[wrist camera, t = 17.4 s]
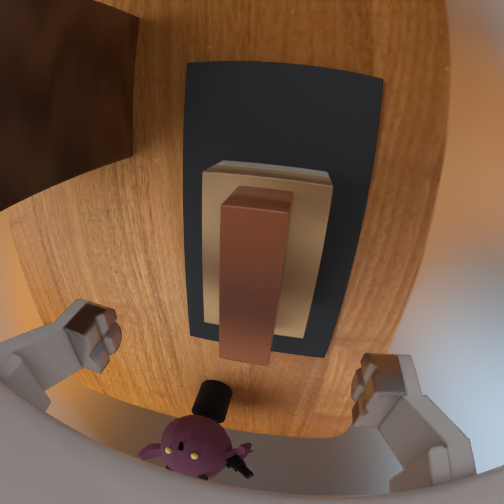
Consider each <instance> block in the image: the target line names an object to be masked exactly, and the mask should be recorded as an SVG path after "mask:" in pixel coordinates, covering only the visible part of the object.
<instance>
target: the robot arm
mask: <svg viewBox="0 0 504 504" xmlns="http://www.w3.org/2000/svg"><path fill="white" fill-rule="evenodd" d="M116 319H117V315H116V312H115V310H114V309H112V308H109V307H106V306H103V305H100V304H97V303H94V302H91V301H87V300H84V299H81V298H80V299H76V300H75V301H74V302H73V303H72V304H71V305H70V306H69V307H68V308H67V309H66V310H65V311H64V312H63V313H62V314H61V316H60V317H59V318H58V319H57V320H56V321H55V322H54V323H53V324H50V323H49V324H46V325H44V326H41V327H39V328H36V329H34V330H31V331H29V332H26V333H23V334H21V335H19V336H16V337H13V338H11V339H8V340H6V341H3V342H1V343H0V504H504V465H503V466H500V467H497V468H494V469H492V470H489V471H486V472H483V473H480V474H477V473H476V468H475V462H474V457H473V452H472V448H471V443H470V439H469V438H468V437H467V436H466V435H465V434H464V433H463V432H462V431H461V430H460V429H459V428H458V427H457V426H456V425H455V424H454V423H453V422H452V421H451V420H450V419H449V418H448V417H447V416H446V415H445V414H444V413H443V412H442V411H441V410H440V409H439V407H438V406H436V404H435V403H433V401H432V400H431V399H430V398H429V397H428V396H427V395H422V392H421V388H420V384H419V381H418V377H417V373H416V370H415V367H414V364H413V360H412V357H411V356H410V355H399V354H397V355H396V354H395V355H394V354H377V353H365V354H364V355H363V357H362V360H361V368H359V369H358V370H356V372H355V375H354V377H353V381H352V386H351V398H352V399H353V400H354V402H355V405H354V407H353V409H352V418H353V427H378V430H379V432H380V433H381V435H382V436H383V438H384V440H385V441H386V443H387V444H388V445H389V447H390V448H391V450H392V452H393V453H394V455H395V456H396V458H397V459H398V461H399V462H400V464H401V465H402V467H403V468H404V469H403V470H402V471H401V472H399V473H398V474H397V475H395V476H394V477H393V478H392V479H391V480H390V493H383V494H371V495H352V496H315V495H296V494H284V493H275V492H266V491H258V490H252V489H246V488H240V487H235V486H230V485H225V484H220V483H216V482H211V481H207V480H203V479H199V478H195V477H192V476H188V475H185V474H181V473H178V472H174V471H171V470H168V469H165V468H162V467H159V466H156V465H153V464H151V463H148V462H145V461H142V460H140V459H137V458H134V457H132V456H130V455H127V454H125V453H122V452H120V451H118V450H116V449H113V448H111V447H109V446H107V445H104V444H102V443H100V442H98V441H96V440H94V439H92V438H90V437H88V436H86V435H84V434H82V433H80V432H79V431H77V430H75V429H73V428H71V427H70V426H68V425H66V424H64V423H62V422H61V421H59V420H58V419H56V418H54V417H53V416H51V415H49V414H48V413H46V412H45V411H46V409H47V408H48V407H49V405H50V403H51V402H50V399H49V397H48V396H47V395H46V393H45V392H44V391H45V390H47V389H49V388H50V387H52V386H54V385H55V384H57V383H59V382H60V381H62V380H63V379H65V378H67V377H68V376H70V375H72V374H74V373H75V372H77V371H78V370H80V369H82V367H84V368H86V369H89V370H92V371H94V372H97V373H99V374H101V373H102V372H103V370H104V369H105V367H106V366H107V364H108V363H109V361H110V358H109V355H111V354H113V353H115V352H116V351H117V350H118V348H119V346H120V343H121V340H122V332H121V329H120V327H119V325H118V324H117V323H116V322H115V321H116Z"/></svg>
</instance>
